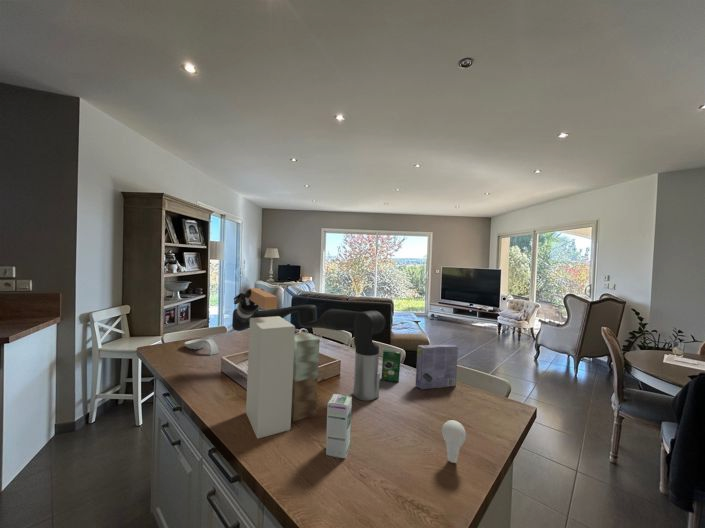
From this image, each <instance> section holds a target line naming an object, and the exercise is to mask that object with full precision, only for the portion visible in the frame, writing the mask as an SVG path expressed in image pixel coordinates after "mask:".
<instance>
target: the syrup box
mask: <svg viewBox="0 0 705 528" xmlns="http://www.w3.org/2000/svg"><path fill="white" fill-rule="evenodd" d="M352 399H353V397H352V396H351V395H347V394H339V393H333V394H332V395H331V397H330V399H329V400H328V402H327V404H326V406H327V409H326V437H325V439H326V442H325V455H326V456H329V457H334V458H339V459H345V460H346V458H347V457H348V454H349V451H350V448H351V439H352V438H351V437H352V436H351V435H352V406H353V405H352V403H353V401H352Z"/></svg>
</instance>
